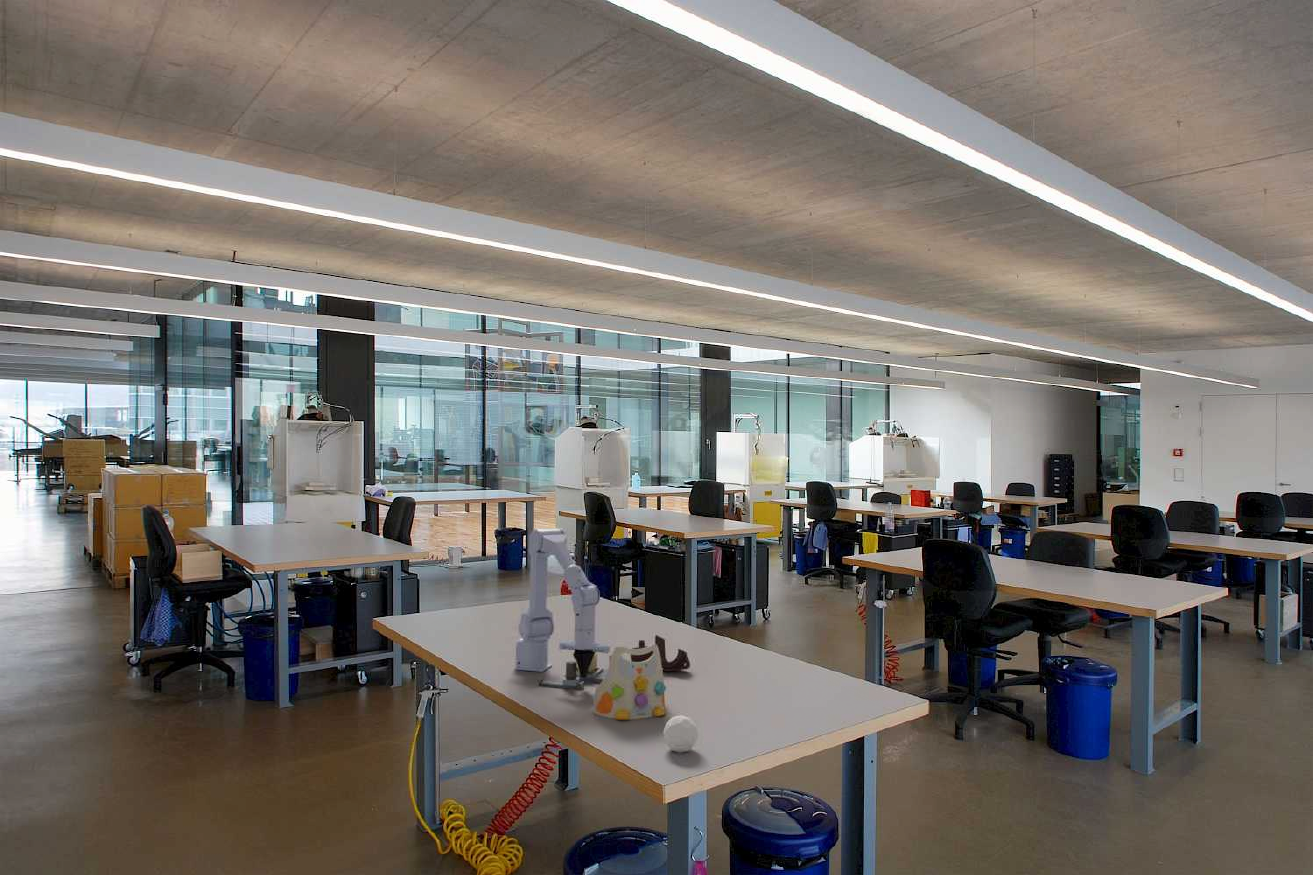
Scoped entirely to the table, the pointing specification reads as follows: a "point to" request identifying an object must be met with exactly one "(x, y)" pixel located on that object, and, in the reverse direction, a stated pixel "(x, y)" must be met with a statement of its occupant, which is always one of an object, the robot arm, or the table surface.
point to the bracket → (663, 656)
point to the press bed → (594, 675)
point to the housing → (592, 665)
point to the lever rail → (559, 684)
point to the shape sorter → (631, 686)
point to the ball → (680, 733)
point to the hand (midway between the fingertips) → (584, 676)
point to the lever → (571, 674)
